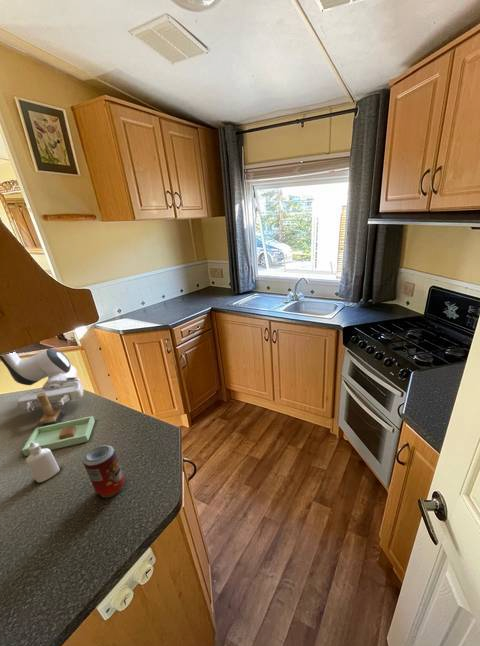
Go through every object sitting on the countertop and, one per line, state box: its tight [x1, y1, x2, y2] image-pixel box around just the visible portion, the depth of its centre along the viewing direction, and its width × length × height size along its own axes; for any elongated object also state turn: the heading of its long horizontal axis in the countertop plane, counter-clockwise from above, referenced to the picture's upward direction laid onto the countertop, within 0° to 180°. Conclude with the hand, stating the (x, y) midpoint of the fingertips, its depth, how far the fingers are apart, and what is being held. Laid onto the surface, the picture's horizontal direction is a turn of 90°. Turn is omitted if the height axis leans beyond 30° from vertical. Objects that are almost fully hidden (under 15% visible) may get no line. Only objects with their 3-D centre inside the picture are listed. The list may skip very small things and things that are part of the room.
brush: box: [37, 393, 63, 427], centre depth 104 cm, size 4×7×12 cm, turn 19°
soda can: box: [82, 444, 125, 498], centre depth 74 cm, size 7×7×12 cm
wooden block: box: [59, 426, 77, 440], centre depth 97 cm, size 4×4×2 cm
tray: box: [21, 415, 96, 457], centre depth 97 cm, size 18×12×2 cm, turn 109°
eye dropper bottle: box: [25, 441, 61, 483], centre depth 79 cm, size 4×6×12 cm
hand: (45, 406), depth 102 cm, fingers open, 8 cm apart
